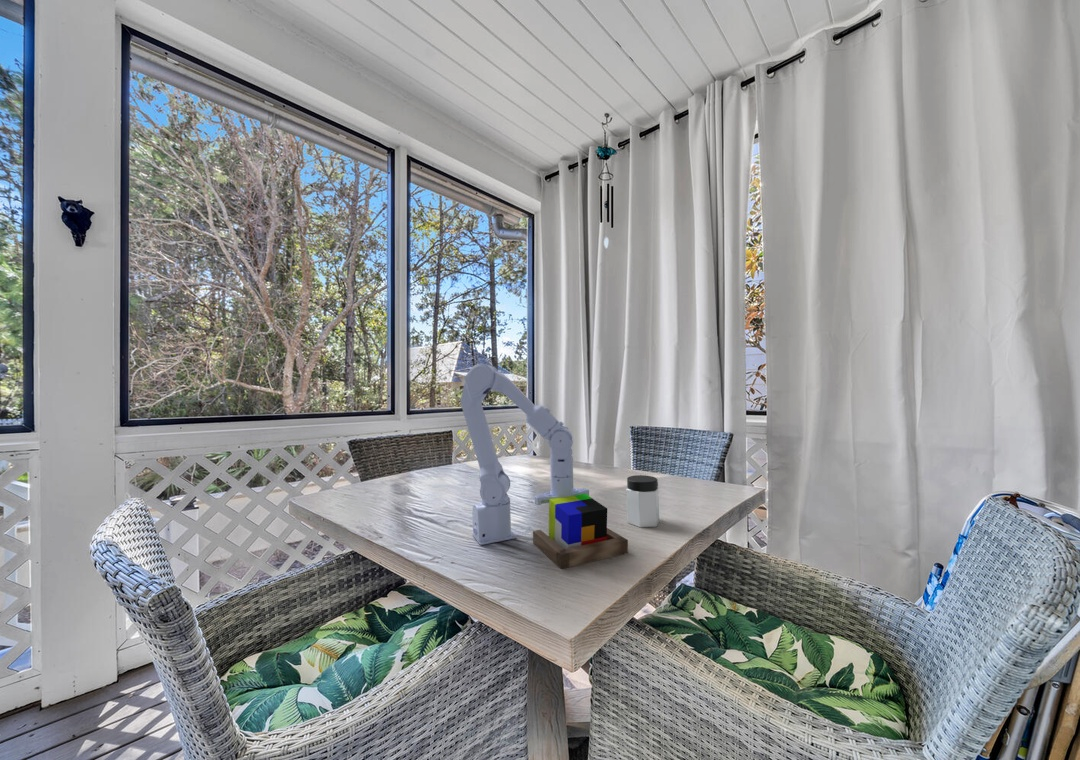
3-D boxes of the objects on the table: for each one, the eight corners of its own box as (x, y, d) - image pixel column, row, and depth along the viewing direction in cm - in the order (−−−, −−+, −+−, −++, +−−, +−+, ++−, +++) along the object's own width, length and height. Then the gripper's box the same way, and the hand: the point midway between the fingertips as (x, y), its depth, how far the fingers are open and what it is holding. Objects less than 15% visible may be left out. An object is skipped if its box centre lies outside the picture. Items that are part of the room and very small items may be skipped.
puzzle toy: (567, 559, 91) (568, 515, 90) (548, 539, 100) (549, 499, 99) (606, 550, 95) (607, 508, 94) (584, 532, 104) (585, 493, 103)
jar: (666, 523, 111) (665, 479, 111) (646, 530, 106) (645, 484, 106) (640, 514, 118) (639, 473, 118) (620, 521, 114) (619, 477, 114)
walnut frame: (560, 568, 86) (560, 554, 86) (533, 543, 100) (532, 531, 100) (628, 553, 93) (627, 539, 93) (593, 531, 107) (593, 519, 107)
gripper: (579, 468, 110) (580, 519, 110) (529, 475, 104) (530, 528, 104) (592, 474, 104) (594, 527, 104) (540, 481, 98) (541, 538, 98)
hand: (563, 528), depth 104 cm, fingers closed, pressing on puzzle toy
